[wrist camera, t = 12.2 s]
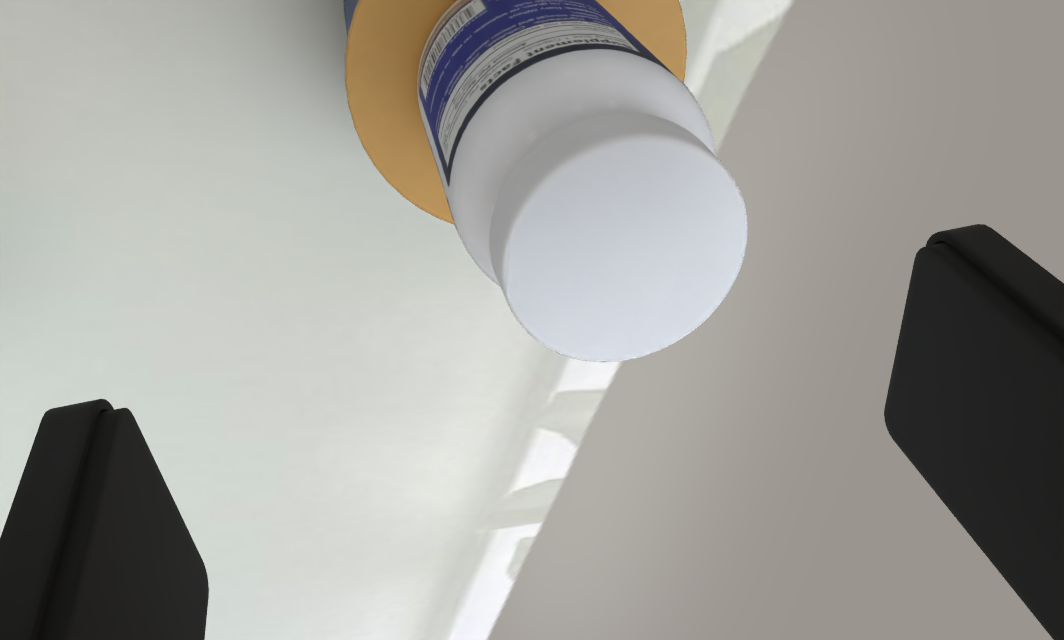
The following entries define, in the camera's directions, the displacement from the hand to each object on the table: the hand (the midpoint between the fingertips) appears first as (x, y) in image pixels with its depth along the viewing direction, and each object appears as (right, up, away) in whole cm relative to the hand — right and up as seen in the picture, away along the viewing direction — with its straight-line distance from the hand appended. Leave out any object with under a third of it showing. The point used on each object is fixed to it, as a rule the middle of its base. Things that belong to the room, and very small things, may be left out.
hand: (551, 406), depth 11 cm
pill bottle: (-1, +8, +14) cm, 16 cm away
